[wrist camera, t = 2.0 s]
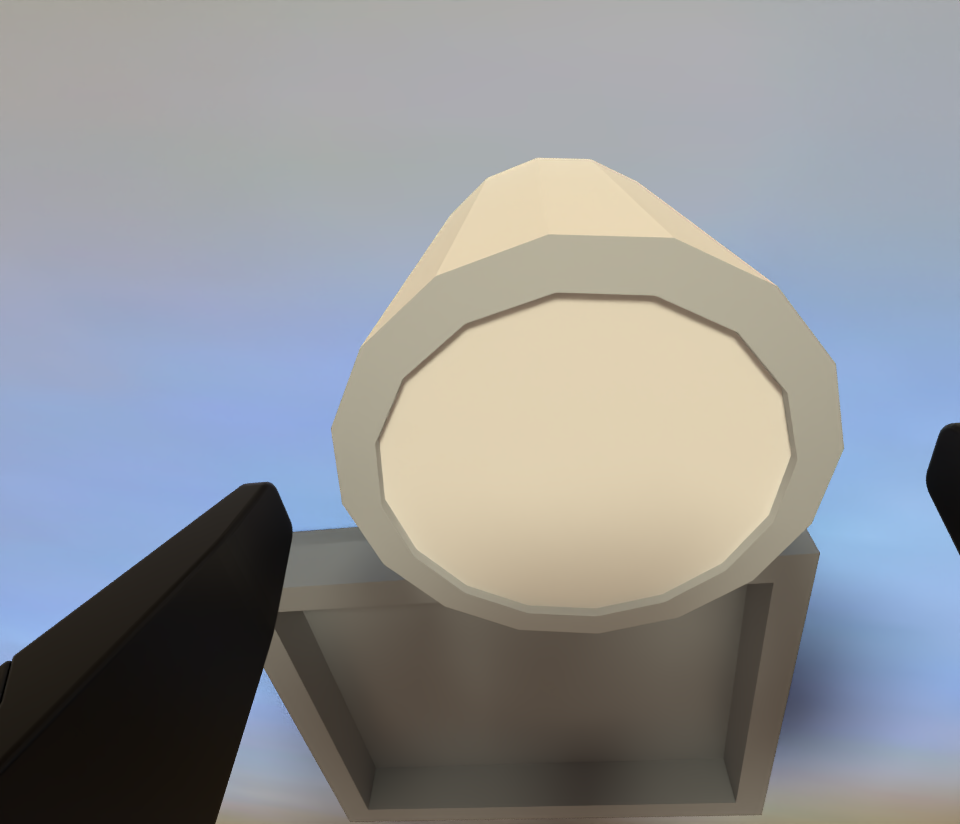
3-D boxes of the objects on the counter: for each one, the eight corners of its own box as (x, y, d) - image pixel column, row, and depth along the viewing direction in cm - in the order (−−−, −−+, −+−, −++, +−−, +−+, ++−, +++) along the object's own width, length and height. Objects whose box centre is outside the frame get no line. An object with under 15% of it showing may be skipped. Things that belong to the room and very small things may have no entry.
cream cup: (762, 166, 13) (975, 310, 7) (642, 431, 16) (713, 670, 11) (430, 85, 12) (353, 166, 6) (386, 379, 16) (313, 600, 10)
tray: (787, 494, 17) (820, 553, 15) (743, 755, 25) (761, 814, 23) (249, 535, 19) (221, 591, 17) (361, 765, 27) (350, 822, 25)
